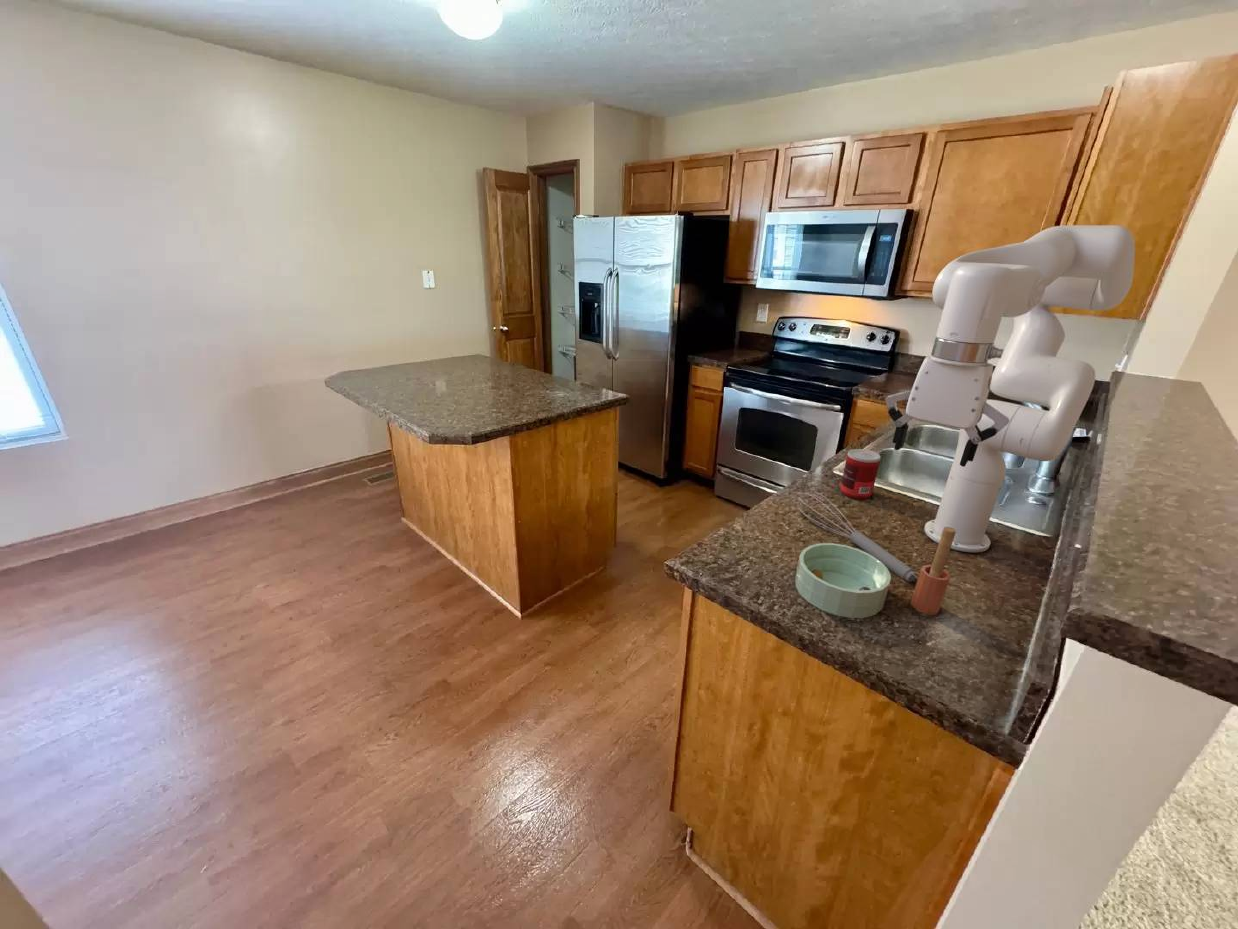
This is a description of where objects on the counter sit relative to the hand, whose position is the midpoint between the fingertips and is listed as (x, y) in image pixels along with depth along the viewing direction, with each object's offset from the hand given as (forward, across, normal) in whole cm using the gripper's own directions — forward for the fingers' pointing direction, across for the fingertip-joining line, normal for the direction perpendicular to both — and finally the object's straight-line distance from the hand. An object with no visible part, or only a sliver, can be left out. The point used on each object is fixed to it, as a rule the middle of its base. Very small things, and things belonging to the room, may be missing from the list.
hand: (929, 455), depth 85 cm
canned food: (+28, +19, -40) cm, 52 cm away
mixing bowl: (+28, +7, +6) cm, 30 cm away
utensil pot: (+28, -6, 0) cm, 29 cm away
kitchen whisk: (+28, +11, -13) cm, 33 cm away
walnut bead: (+26, +3, +6) cm, 27 cm away
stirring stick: (+27, -6, 0) cm, 28 cm away
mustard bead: (+26, +12, +6) cm, 29 cm away
